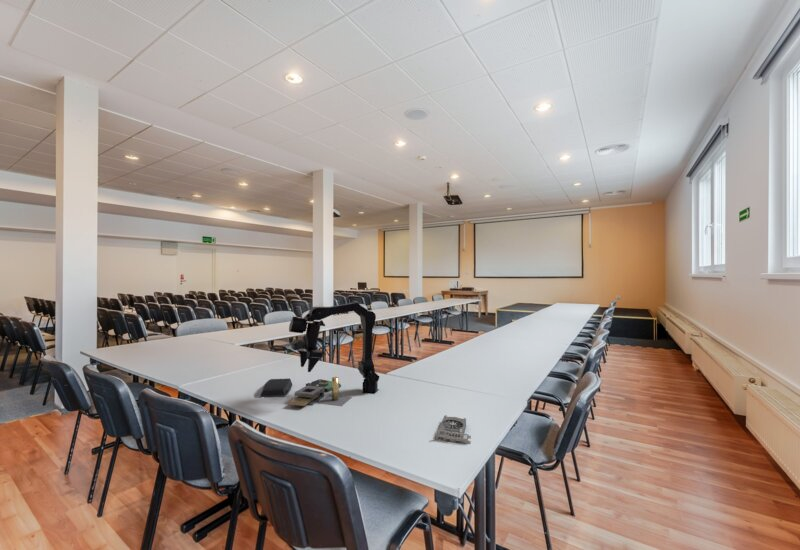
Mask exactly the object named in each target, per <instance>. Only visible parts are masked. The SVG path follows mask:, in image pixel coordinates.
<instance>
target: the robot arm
mask: <svg viewBox="0 0 800 550" xmlns="http://www.w3.org/2000/svg"><path fill="white" fill-rule="evenodd" d="M349 312H350V313H351V312H354V313H355V314H356V315H358V317H359V318H360V324H361V327H362V355H361V356H362V357H361V360H360V361H357V363H358V364H357V365H358V366H357V367H358V368H357V370H358V371H359V373H360V375H362V378H363V382H362V392H361V393H362V394H369V395H371V394H372V395H375V394H376V393H378V391H379V390H380V389H379V387H378V384H379V383H378V382H379V380H380V375H378V374H377V373H376V371H375V370H376V369H375V363H374V362H373V329H374V326H375V325H376V318H377V314H376V313H375V312H373V311H372V310H368V309H367V308H365V307H364V306H362V305H361V304H360V303H359V302H355V301H352V302H348V303H342V304H338V305H331V306H311V308H310V309H309V311H308V313H307V314H306V315H305V316H303V317H296V316H292V318H291V320H290V323H289V325H288V327H289V328H288V332H289V333H295V334H303V333H304V332H305V334H304V335H303V337H302V338H300V339H295V340H291V341H290V347H291V350H293V351H297V352H298V354H299V357H300V358H299V359H300V367H301V368H304V367H305V365H306V363H307V361H308V363H307V373H311V372H312V371H313V369H314V367H315V366H316V365H317V363H318V362H319V361H320V360H321V359H322V358H323V357H324V352H323V351H322V350H321V349H319V347H318V346H317V345H318V341H320V340H321V339H320V337H319V336H320V330H321V327H325V326H326V323H324V321H323V319H326V318H328V317H330V316H334V315H338V314H345V313H349Z"/></svg>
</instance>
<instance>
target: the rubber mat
mask: <svg viewBox="0 0 800 550" xmlns="http://www.w3.org/2000/svg"><path fill="white" fill-rule="evenodd" d="M351 399H353V396H348V395H339V400H338V401H332V394H328V395H326V396H324V398H323V399H321V400H320V401H318V402H317V403H316V404H318V405H326V406H338V407H343V406H344V405H345V404H347V402H348V401H350V400H351Z"/></svg>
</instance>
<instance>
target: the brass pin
mask: <svg viewBox="0 0 800 550" xmlns="http://www.w3.org/2000/svg"><path fill="white" fill-rule="evenodd" d="M339 381H340V378H339V376H334V377H331V382H332V391H331V395H332V401H338V400H339V396H340V395H339V389H340V388H339V383H340V382H339Z"/></svg>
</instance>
